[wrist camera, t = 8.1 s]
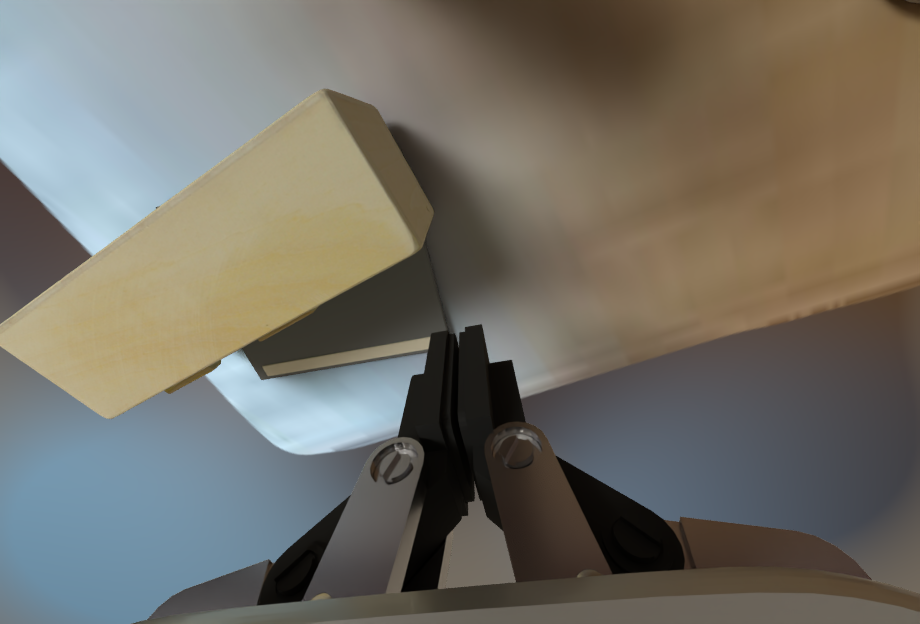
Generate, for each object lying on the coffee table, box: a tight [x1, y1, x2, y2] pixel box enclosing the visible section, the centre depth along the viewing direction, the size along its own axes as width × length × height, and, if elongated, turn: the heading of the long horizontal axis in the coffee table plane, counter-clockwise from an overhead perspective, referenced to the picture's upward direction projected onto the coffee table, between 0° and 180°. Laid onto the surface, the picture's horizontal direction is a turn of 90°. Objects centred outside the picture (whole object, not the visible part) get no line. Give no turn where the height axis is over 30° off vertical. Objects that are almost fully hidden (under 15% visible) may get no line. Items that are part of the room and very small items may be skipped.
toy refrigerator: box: [0, 89, 434, 419], centre depth 18 cm, size 8×7×21 cm
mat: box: [156, 150, 448, 380], centre depth 23 cm, size 16×14×1 cm
